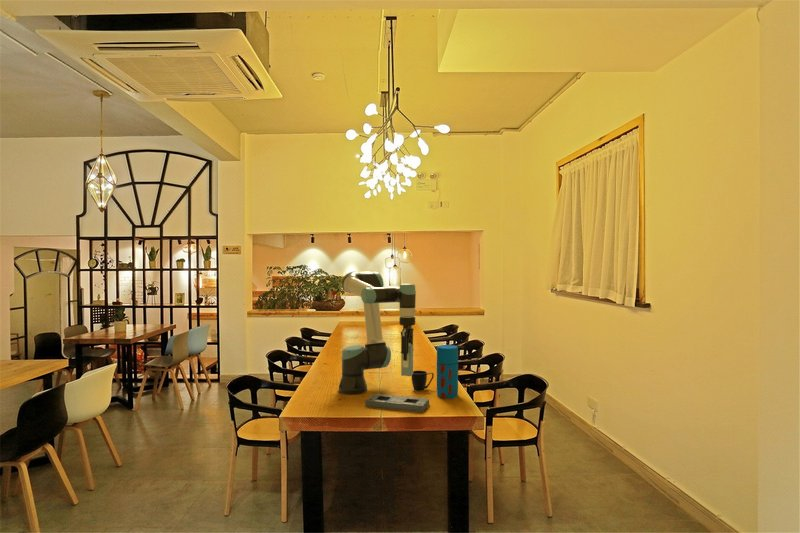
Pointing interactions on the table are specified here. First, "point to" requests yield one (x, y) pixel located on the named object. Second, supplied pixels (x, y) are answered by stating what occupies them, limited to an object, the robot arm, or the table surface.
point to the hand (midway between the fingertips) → (407, 365)
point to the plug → (409, 370)
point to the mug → (420, 380)
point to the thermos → (447, 371)
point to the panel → (397, 402)
